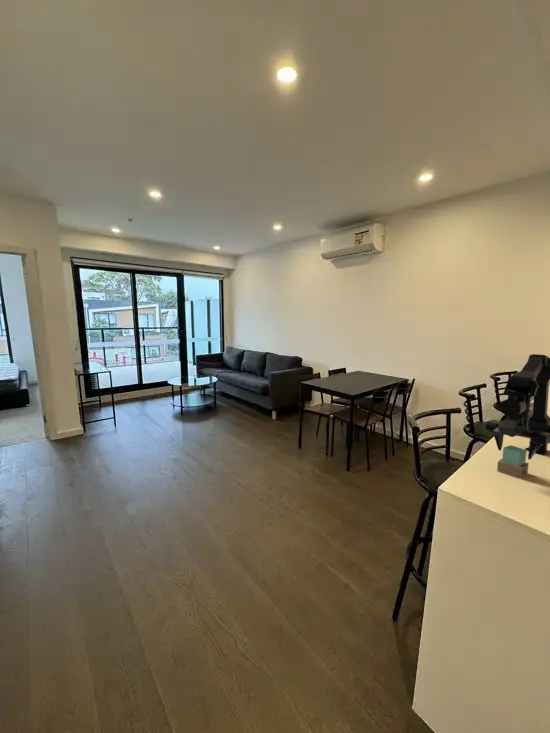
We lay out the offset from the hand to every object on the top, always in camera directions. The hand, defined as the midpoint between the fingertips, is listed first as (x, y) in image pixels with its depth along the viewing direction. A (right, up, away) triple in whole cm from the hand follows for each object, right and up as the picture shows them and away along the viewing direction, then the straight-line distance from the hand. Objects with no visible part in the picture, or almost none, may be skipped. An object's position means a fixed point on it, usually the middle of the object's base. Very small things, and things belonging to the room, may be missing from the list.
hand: (514, 454), depth 113 cm
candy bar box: (+37, -2, +41) cm, 55 cm away
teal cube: (0, -3, 0) cm, 3 cm away
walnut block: (0, -7, +1) cm, 7 cm away
